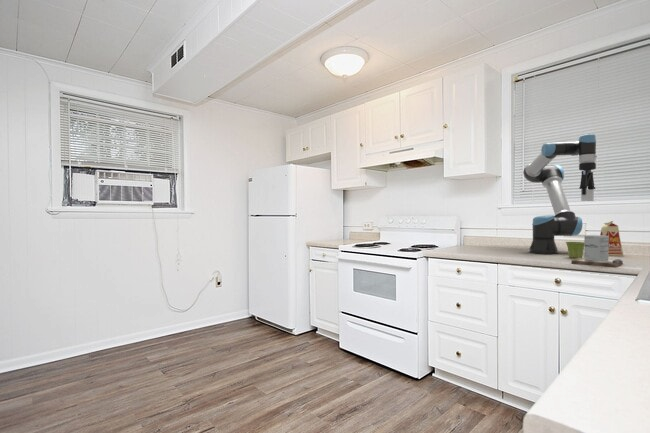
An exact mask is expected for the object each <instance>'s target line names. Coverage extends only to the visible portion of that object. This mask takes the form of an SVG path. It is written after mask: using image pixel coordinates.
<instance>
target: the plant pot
mask: <svg viewBox="0 0 650 433" xmlns="http://www.w3.org/2000/svg"><path fill="white" fill-rule="evenodd" d="M565 243H566V247H567V253H568V257H569V258H571V259H573V258H574V259H577V258H583V257H584V241H565Z"/></svg>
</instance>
